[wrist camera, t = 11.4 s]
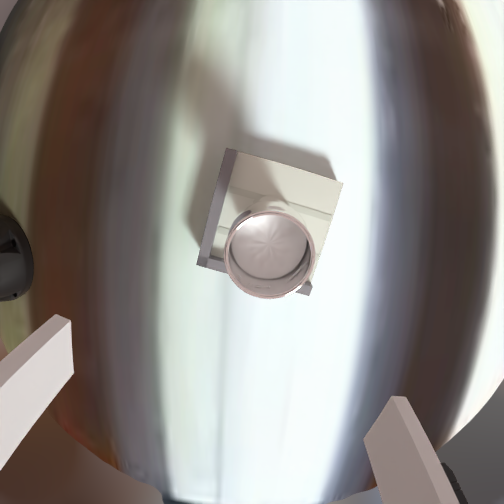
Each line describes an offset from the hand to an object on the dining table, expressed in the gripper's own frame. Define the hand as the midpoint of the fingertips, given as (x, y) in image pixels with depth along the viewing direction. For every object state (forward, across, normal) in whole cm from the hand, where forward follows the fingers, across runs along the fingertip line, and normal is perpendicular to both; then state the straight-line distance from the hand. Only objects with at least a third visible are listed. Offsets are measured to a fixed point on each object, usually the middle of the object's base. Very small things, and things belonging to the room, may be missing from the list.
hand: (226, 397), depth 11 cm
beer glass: (+28, +2, +2) cm, 28 cm away
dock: (+30, +2, +2) cm, 31 cm away
